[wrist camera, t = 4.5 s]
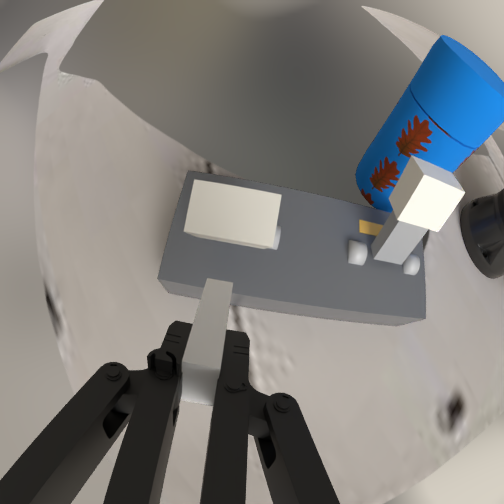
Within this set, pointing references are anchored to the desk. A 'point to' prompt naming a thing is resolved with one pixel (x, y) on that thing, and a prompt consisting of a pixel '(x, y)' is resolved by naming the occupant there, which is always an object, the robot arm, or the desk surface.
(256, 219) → the outer lever
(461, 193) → the inner lever
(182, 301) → the desk surface
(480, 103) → the thermos
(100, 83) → the desk surface
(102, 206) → the desk surface
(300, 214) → the switch box
